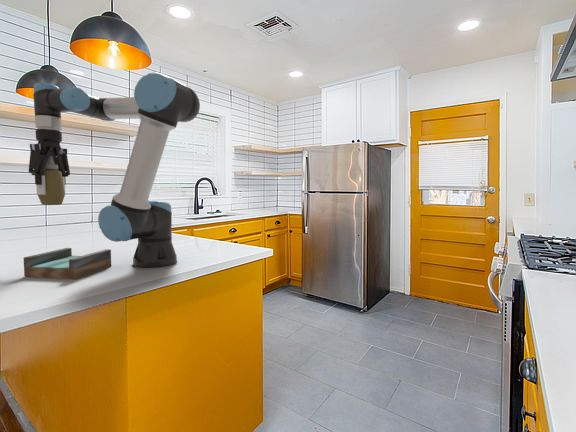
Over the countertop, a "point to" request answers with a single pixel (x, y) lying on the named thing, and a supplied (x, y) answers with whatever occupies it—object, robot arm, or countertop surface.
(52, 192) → the squeeze bottle
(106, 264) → the dock
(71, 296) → the countertop surface
